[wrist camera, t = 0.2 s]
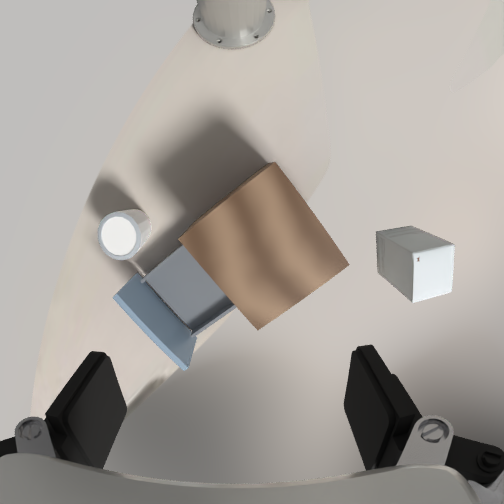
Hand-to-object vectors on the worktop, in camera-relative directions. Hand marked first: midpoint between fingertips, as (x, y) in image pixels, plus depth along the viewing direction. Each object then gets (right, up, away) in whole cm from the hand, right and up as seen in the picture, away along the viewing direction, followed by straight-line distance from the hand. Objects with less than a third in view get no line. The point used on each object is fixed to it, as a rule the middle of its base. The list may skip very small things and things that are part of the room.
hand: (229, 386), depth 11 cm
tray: (-8, 0, +37) cm, 38 cm away
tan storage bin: (+2, +8, +36) cm, 37 cm away
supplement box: (+25, +5, +37) cm, 45 cm away
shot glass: (-17, +9, +36) cm, 41 cm away
